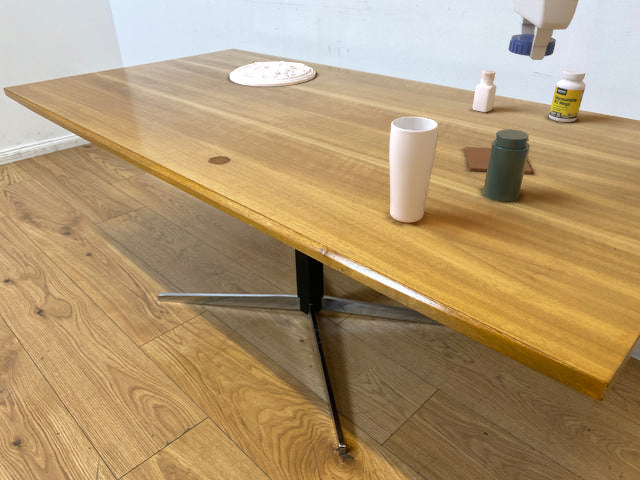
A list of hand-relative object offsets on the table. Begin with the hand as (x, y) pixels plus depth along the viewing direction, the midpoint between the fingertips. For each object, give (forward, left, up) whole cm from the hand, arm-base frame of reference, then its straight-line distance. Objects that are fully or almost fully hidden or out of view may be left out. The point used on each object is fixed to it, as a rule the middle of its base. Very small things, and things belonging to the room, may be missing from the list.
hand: (530, 53), depth 72 cm
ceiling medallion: (+61, -79, -23) cm, 102 cm away
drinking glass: (+16, +11, -23) cm, 30 cm away
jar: (+1, +1, -23) cm, 23 cm away
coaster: (-1, -14, -23) cm, 26 cm away
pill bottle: (-20, -43, -23) cm, 52 cm away
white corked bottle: (-2, -48, -23) cm, 53 cm away
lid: (0, 0, +2) cm, 2 cm away
